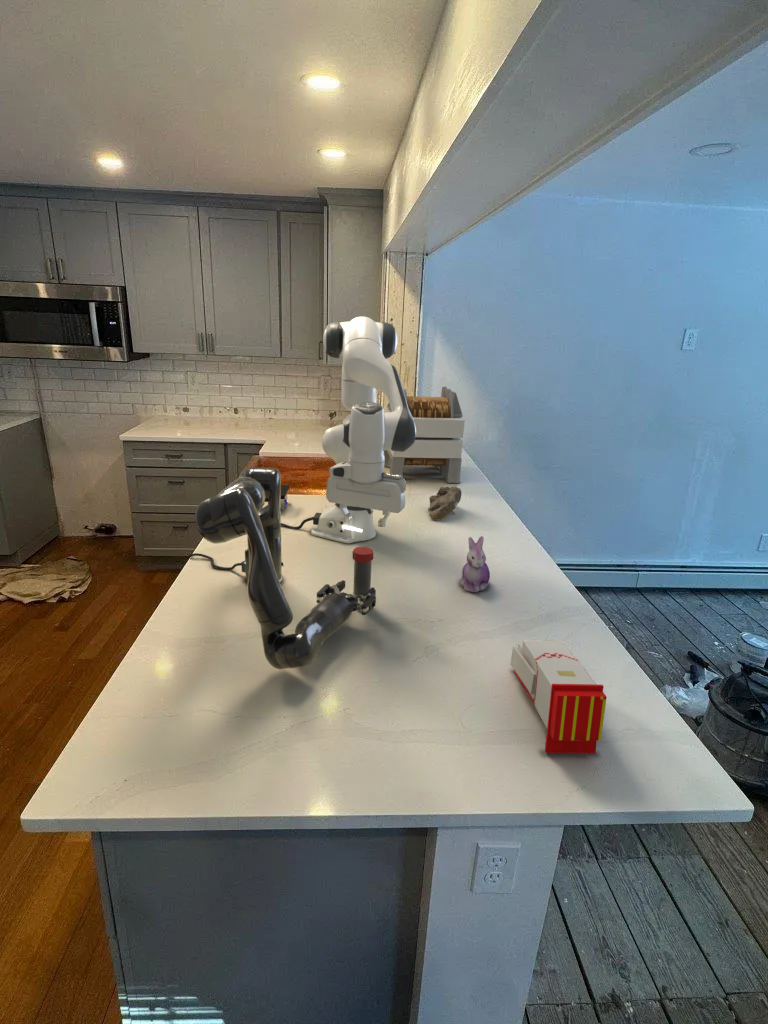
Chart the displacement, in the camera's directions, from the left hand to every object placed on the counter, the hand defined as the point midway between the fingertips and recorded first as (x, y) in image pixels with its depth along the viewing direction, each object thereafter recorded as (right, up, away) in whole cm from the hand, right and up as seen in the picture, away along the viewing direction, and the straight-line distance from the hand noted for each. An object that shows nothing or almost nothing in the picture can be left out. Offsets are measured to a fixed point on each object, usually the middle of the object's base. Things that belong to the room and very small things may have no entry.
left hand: (358, 587), depth 147 cm
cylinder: (+1, -5, +4) cm, 7 cm away
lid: (+1, +9, -1) cm, 9 cm away
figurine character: (-34, +21, +72) cm, 83 cm away
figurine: (+33, -2, +17) cm, 37 cm away
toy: (+40, -20, -31) cm, 55 cm away
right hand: (+2, +17, -4) cm, 17 cm away
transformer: (+24, +38, +128) cm, 136 cm away
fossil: (+30, +19, +76) cm, 84 cm away
